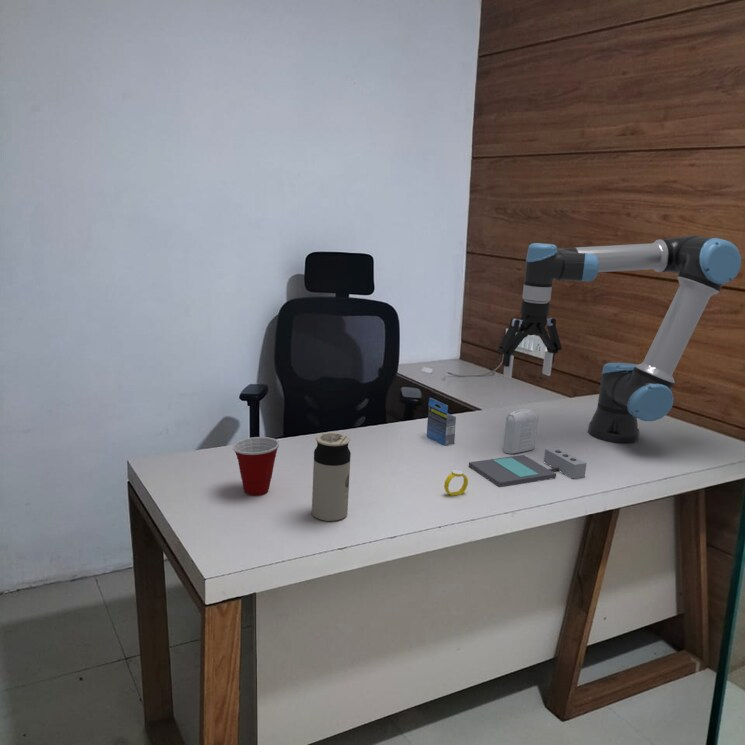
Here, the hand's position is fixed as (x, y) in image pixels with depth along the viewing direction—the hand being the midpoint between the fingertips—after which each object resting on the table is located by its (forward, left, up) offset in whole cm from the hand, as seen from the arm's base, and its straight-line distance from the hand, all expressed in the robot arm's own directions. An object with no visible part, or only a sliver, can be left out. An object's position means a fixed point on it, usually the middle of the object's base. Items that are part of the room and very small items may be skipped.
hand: (526, 376), depth 199 cm
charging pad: (+12, +13, -22) cm, 28 cm away
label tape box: (+18, -14, -22) cm, 32 cm away
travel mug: (+67, +20, -22) cm, 73 cm away
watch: (+34, +20, -22) cm, 45 cm away
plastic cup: (+79, +3, -22) cm, 82 cm away
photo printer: (0, 0, -22) cm, 22 cm away
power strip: (-1, +16, -22) cm, 27 cm away
